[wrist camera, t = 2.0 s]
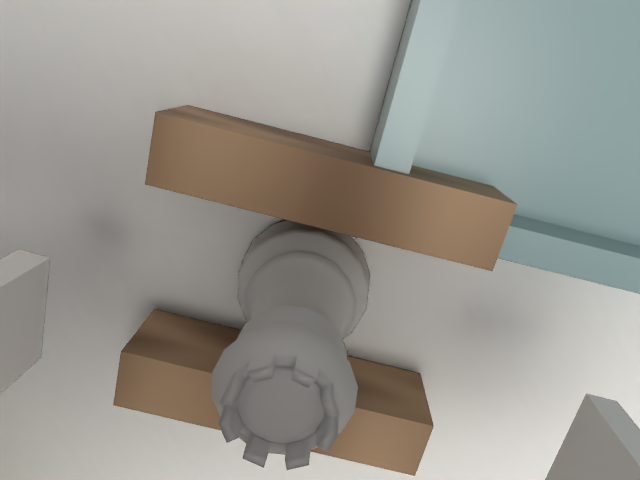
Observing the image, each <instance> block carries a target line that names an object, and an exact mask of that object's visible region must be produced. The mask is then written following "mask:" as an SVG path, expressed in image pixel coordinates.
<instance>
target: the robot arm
mask: <svg viewBox="0 0 640 480" xmlns="http://www.w3.org/2000/svg"><path fill="white" fill-rule="evenodd" d="M49 265H50V257H46V256H42V255H38V254H34V253H30V252H26V251H22V250H16V251H14V252H13V253H11V254H9V255H7V256H5V257H3V258H1V259H0V394H1V393H2V392H3V391H4V390H5V389H7V388H8V387H9V386H10V385H11V384H12V383H13V382H14V381H16V380H17V379H18V378H19V377H20V376H21V375H22V374H23V373H24V372H26V371H27V370H28V369H29V368H30V367H31V366H32V365H33V364H34V363H36V362H37V361H38V360H39V359H40V358H41V353H42V342H43V331H44V320H45V309H46V298H47V287H48V276H49ZM545 480H640V429H639V428H638V427H637V425H636V424H635V423H634V422H633V420H632V419H631V418H630V417H629V415H628V414H627V413H626V412H625V410H624V409H623V408H622V407H621V406H620V404H619V403H618V402H617V401H614V400H610V399H606V398H602V397H598V396H594V395H590V394H586V395H585V397H584V399H583V402H582V404H581V406H580V408H579V410H578V412H577V414H576V416H575V418H574V420H573V423H572V425H571V427H570V429H569V431H568V433H567V435H566V437H565V439H564V441H563V443H562V446H561V448H560V450H559V452H558V454H557V456H556V458H555V460H554V462H553V464H552V467H551V469H550V471H549V473H548V475H547V477H546V479H545Z"/></svg>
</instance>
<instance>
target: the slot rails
mask: <svg viewBox="0 0 640 480" xmlns="http://www.w3.org/2000/svg"><path fill="white" fill-rule="evenodd" d="M145 184H146V185H150V186H154V187H158V188H162V189H166V190H170V191H174V192H178V193H182V194H186V195H190V196H194V197H198V198H202V199H206V200H210V201H214V202H218V203H222V204H226V205H230V206H234V207H238V208H242V209H246V210H250V211H254V212H258V213H262V214H266V215H270V216H274V217H278V218H282V219H286V220H290V221H294V222H298V223H302V224H306V225H310V226H314V227H318V228H322V229H326V230H330V231H334V232H338V233H342V234H346V235H350V236H354V237H358V238H362V239H366V240H370V241H374V242H378V243H382V244H386V245H390V246H394V247H398V248H402V249H406V250H410V251H414V252H418V253H422V254H426V255H430V256H434V257H438V258H442V259H446V260H450V261H454V262H458V263H462V264H466V265H470V266H474V267H478V268H482V269H486V270H490V271H493V268H494V266H495V263H496V260H497V258H498V255H499V252H500V250H501V247H502V244H503V242H504V239H505V237H506V234H507V231H508V229H509V226H510V223H511V221H512V218H513V215H514V213H515V210H516V208H517V205H518V204H516V203H515V202H514V201H512V200H511V199H510V198H508V197H507V196H506V195H504V194H503V193H502V192H501V191H499V190H498V189H497V188H495V187H494V186H491V185H487V184H483V183H479V182H475V181H472V180H468V179H464V178H460V177H456V176H452V175H448V174H444V173H440V172H436V171H433V170H429V169H425V168H421V167H417V166H413V165H412V167H411V170H410V173H409V174H405V173H401V172H397V171H394V170H390V169H386V168H382V167H378V166H374V164H373V161H372V158H371V155H370V152H368V151H364V150H360V149H357V148H353V147H349V146H345V145H341V144H337V143H333V142H329V141H325V140H321V139H318V138H314V137H310V136H306V135H302V134H298V133H294V132H290V131H286V130H282V129H279V128H275V127H271V126H267V125H263V124H259V123H255V122H251V121H247V120H243V119H239V118H236V117H232V116H228V115H224V114H220V113H216V112H212V111H208V110H204V109H200V108H197V107H193V106H189V105H187V106H182V107H177V108H172V109H168V110H163V111H158V112H155V119H154V126H153V133H152V140H151V147H150V154H149V161H148V167H147V174H146V181H145ZM241 331H242V330H238V329H234V328H230V327H226V326H221V325H217V324H213V323H209V322H205V321H201V320H197V319H192V318H188V317H184V316H180V315H176V314H172V313H168V312H164V311H159V310H154V311H153V312H152V313H151V315H150V316H149V317H148V318H147V320H146V321H145V322H144V323H143V325H142V326H141V327H140V328H139V330H138V331H137V332H136V333H135V335H134V336H133V337H132V338H131V340H130V341H129V342H128V343H127V345H126V346H125V347H124V348H123V350H122V351H121V355H120V362H119V369H118V376H117V383H116V390H115V397H114V404H113V405H115V406H120V407H124V408H128V409H132V410H137V411H141V412H145V413H149V414H154V415H158V416H162V417H166V418H171V419H175V420H179V421H183V422H188V423H192V424H196V425H200V426H205V427H209V428H213V429H218V430H221V428H220V426H219V424H218V423H219V420H220V418H221V417H220V415H219V413H218V410H217V408H216V406H215V404H214V401H213V399H212V372H213V370H214V368H215V366H216V364H217V362H218V360H219V358H220V357H221V355H222V353H223V351H224V349H226V348H227V347H228V346H229V345H231V344H232V343H233V342H235V341H236V340H237V338H238V336H239V334H240V332H241ZM346 359H347V360H348V361H349V362H350V365H351V368H352V371H353V374H354V377H355V380H356V382H357V385H358V390H357V398H356V406H355V412H354V413H353V415H352V417H351V418H350V420H349V421H348V423H347V424H346V426H345V427H344V429H343V430H342V432H341V433H340V434H338V437H337V438H336V440H335V441H334V443H333V444H332V446H331V447H330V449H329V451H328V452H327V453H326V452H325V451H323V450H322V449H320V448H319V447H318V448H315V449H312V450H310V451H311V452H315V453H320V454H324V455H328V456H332V457H337V458H341V459H345V460H350V461H354V462H358V463H362V464H367V465H371V466H375V467H379V468H384V469H388V470H392V471H396V472H401V473H405V474H409V475H413V476H415V474H416V471H417V469H418V466H419V463H420V461H421V458H422V455H423V453H424V450H425V447H426V445H427V442H428V440H429V437H430V434H431V432H432V429H433V422H432V418H431V414H430V410H429V406H428V402H427V398H426V394H425V390H424V387H423V383H422V379H421V375H420V373H416V372H412V371H407V370H403V369H399V368H395V367H391V366H387V365H383V364H378V363H374V362H370V361H366V360H362V359H358V358H354V357H350V356H347V358H346Z"/></svg>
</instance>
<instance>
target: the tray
mask: <svg viewBox="0 0 640 480" xmlns="http://www.w3.org/2000/svg"><path fill="white" fill-rule="evenodd" d="M370 155H371V158H372V161H373V164H374V166H378V167H382V168H386V169H390V170H394V171H397V172H401V173H405V174H409V173H410V170H411V167H412V165H413V166H417V167H421V168H425V169H429V170H433V171H436V172H440V173H444V174H448V175H452V176H456V177H460V178H464V179H468V180H472V181H475V182H479V183H483V184H487V185H491V186H494V187H495V188H497V189H498V190H499V191H501V192H502V193H503V194H504V195H506V196H507V197H508V198H510V199H511V200H512V201H514V202H515V203H516V204H518V205H517V208H516V210H515V213H514V215H513V218H512V221H511V223H510V226H509V229H508V231H507V234H506V237H505V239H504V242H503V244H502V247H501V250H500V252H499V255H498V258H499V259H503V260H507V261H511V262H515V263H519V264H523V265H527V266H531V267H535V268H539V269H543V270H547V271H551V272H555V273H559V274H563V275H567V276H571V277H575V278H579V279H583V280H587V281H591V282H595V283H599V284H603V285H607V286H611V287H615V288H619V289H623V290H627V291H631V292H635V293H639V294H640V0H412V1H411V4H410V8H409V11H408V15H407V19H406V22H405V26H404V29H403V33H402V37H401V40H400V44H399V47H398V51H397V55H396V58H395V62H394V65H393V69H392V73H391V76H390V80H389V84H388V87H387V91H386V94H385V98H384V102H383V105H382V109H381V112H380V116H379V120H378V123H377V127H376V130H375V134H374V138H373V141H372V145H371V148H370Z"/></svg>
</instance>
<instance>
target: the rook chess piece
mask: <svg viewBox="0 0 640 480" xmlns="http://www.w3.org/2000/svg"><path fill="white" fill-rule="evenodd" d="M369 281H370V272H369V269H368V266H367V263H366V259H365V256H364V253H363V251H362V250H361V248H360V247H359V246H358V245H357V244H356V243H355V241H354V240H353V239H352V238H351V237H350V235H346V234H342V233H338V232H334V231H330V230H326V229H322V228H318V227H314V226H310V225H306V224H302V223H298V222H294V221H290V220H287V221H283V222H280V223H277V224H273V225H271V226H270V227H269V228H267V229H266V230H265V231H264V232H263V233H261V234H260V235H259V236H258V237H256V238H255V239H254V240H253V241H252V243H251V245H250V247H249V249H248V251H247V253H246V255H245V257H244V258H243V260H242V265H241V269H240V271H239V276H238V300H239V303H240V306H241V308H242V311H243V313H244V316H245V318H246V321H247V323H245V325H244V327H243V329H242V331H241V332H240V334H239V336H238V338H237V340H236V341H235V342H233V343H232V344H231V345H229V346H228V347H227V348H226V349H224V351H223V353H222V355H221V357H220V358H219V360H218V362H217V364H216V366H215V368H214V370H213V372H212V399H213V401H214V404H215V406H216V408H217V410H218V413H219V415H220V417H221V418H220V420H219V423H218V424H219V426H220V428H221V431H222V433H223V435H224V438H225V440H226V442H230V441H232V440H234V439H236V438H240V439H242V440H243V441H244V442H245V443H246V447H245V451H244V455H243V459H246V460H248V461H250V462H252V463H254V464H257V465H259V466H261V467H263V468H264V465H265V462H266V459H267V454H268V453H275V454H285V462H286V468H287V470H289V469H293V468H298V467H302V466H306V465H309V458H310V450H312V449H315V448H318V447H319V448H320V449H322V450H323V451H325V452H326V453H327V452H328V451H329V449H330V447H331V446H332V444H333V443H334V441H335V440H336V438H337V437H338V434H340V433H341V432H342V430H343V429H344V427H345V426H346V424H347V423H348V421H349V420H350V418H351V417H352V415H353V413H354V412H355V406H356V398H357V390H358V385H357V382H356V380H355V377H354V374H353V371H352V368H351V365H350V362H349V361H348V360H347V359H346V358H347V351H346V348H345V345H344V342H343V339H344V338H345V337H347V336H348V335H349V334H351V333H352V331H353V330H354V328H355V327H356V325H357V323H358V322H359V320H360V318H361V317H362V315H363V313H364V312H365V310H366V308H367V300H368V292H369Z"/></svg>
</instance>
